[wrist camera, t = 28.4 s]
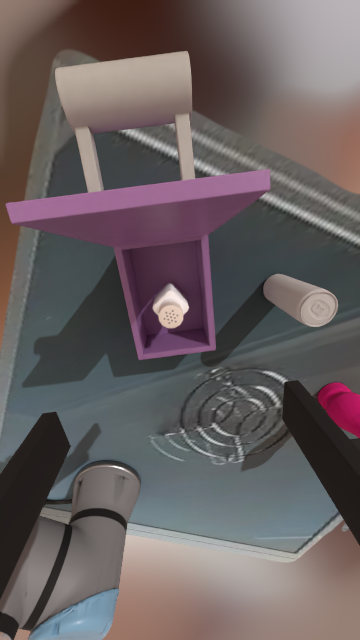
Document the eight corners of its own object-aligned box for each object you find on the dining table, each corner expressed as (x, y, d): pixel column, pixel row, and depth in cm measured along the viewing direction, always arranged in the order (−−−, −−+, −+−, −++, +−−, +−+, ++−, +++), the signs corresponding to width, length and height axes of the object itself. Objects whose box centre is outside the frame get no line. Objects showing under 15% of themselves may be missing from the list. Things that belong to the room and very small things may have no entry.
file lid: (270, 189, 10) (266, -11, 8) (11, 223, 10) (-47, 30, 8) (208, 234, 27) (203, 172, 25) (112, 247, 27) (100, 185, 25)
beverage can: (274, 306, 39) (316, 335, 28) (255, 290, 38) (291, 313, 27) (295, 284, 38) (347, 305, 27) (275, 267, 37) (322, 282, 26)
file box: (208, 330, 41) (216, 350, 34) (143, 338, 41) (138, 360, 34) (199, 231, 34) (207, 231, 27) (123, 241, 34) (112, 243, 27)
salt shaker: (153, 296, 37) (148, 317, 28) (170, 279, 36) (170, 295, 27) (170, 313, 38) (171, 337, 29) (187, 296, 37) (193, 317, 28)
